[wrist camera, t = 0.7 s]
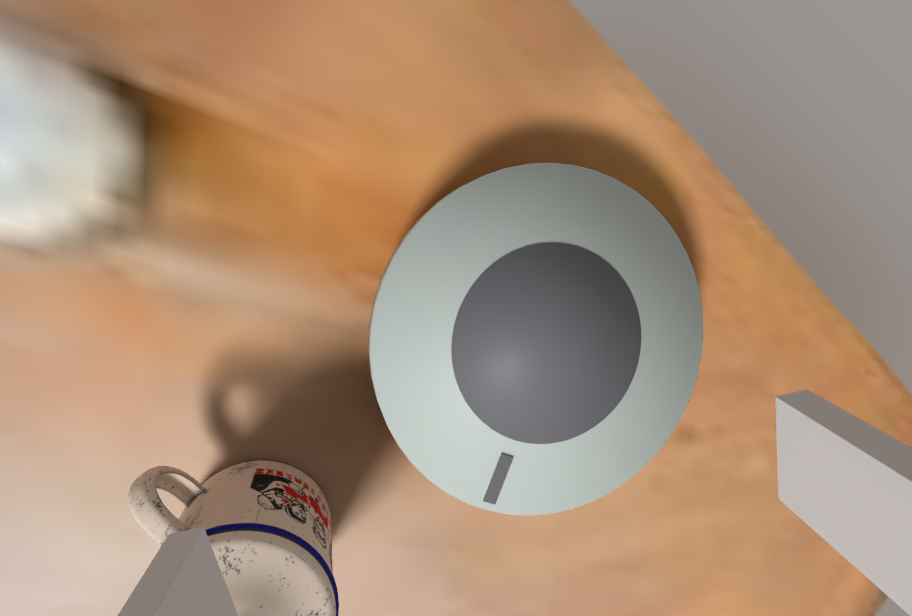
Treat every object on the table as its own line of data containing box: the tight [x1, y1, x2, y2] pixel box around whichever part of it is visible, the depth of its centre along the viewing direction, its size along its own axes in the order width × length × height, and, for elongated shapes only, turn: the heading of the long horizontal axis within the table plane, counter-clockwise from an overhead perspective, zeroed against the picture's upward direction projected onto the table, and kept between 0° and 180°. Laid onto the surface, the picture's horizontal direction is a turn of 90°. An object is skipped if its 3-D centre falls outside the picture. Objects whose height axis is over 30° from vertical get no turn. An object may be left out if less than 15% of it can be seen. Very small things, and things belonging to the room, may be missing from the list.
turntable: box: [368, 163, 703, 516], centre depth 32 cm, size 21×21×2 cm
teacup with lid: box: [128, 461, 339, 616], centre depth 26 cm, size 12×9×12 cm
